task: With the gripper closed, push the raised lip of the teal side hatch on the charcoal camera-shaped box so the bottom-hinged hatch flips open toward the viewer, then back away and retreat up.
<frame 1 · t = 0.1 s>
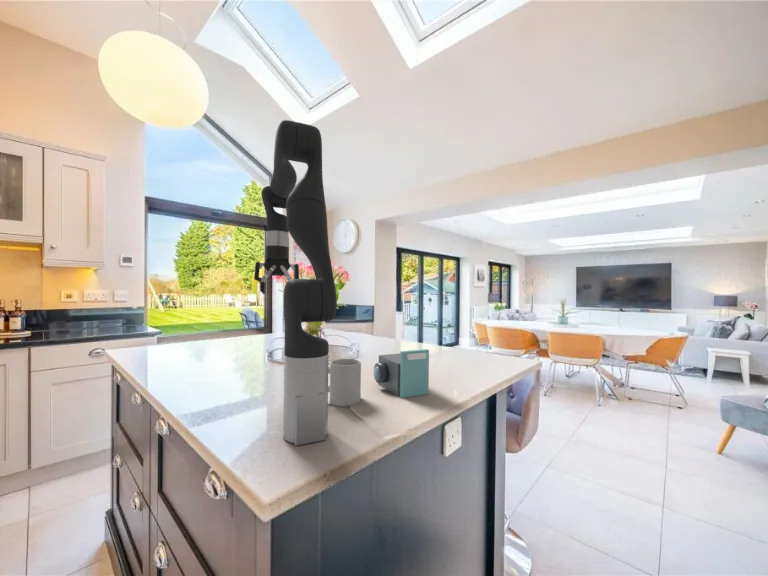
hand: (276, 293, 111), 29 cm above the countertop, fingers open, 8 cm apart
side door: (415, 373, 95), point 7 cm above the countertop, hinge at 0.0°
camera box: (401, 390, 103), on the countertop
mug: (339, 402, 92), on the countertop
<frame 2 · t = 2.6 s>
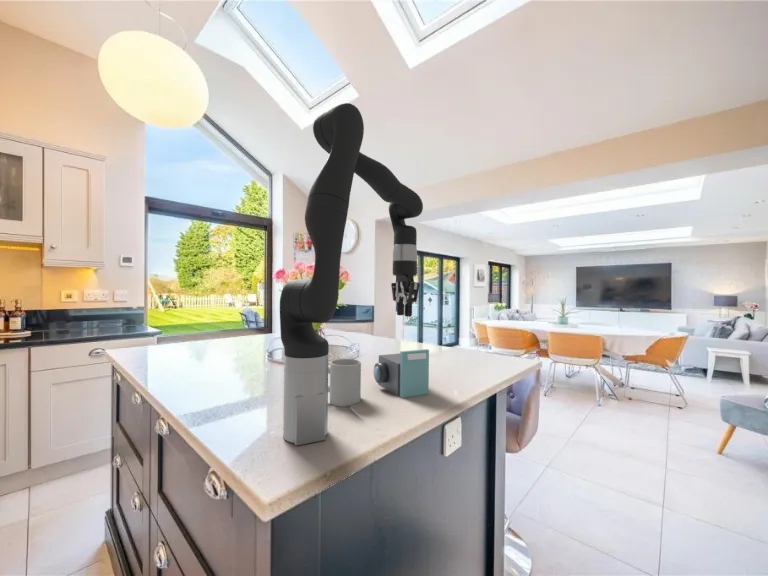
hand: (404, 315, 102), 23 cm above the countertop, fingers open, 4 cm apart
nothing on the countertop moved.
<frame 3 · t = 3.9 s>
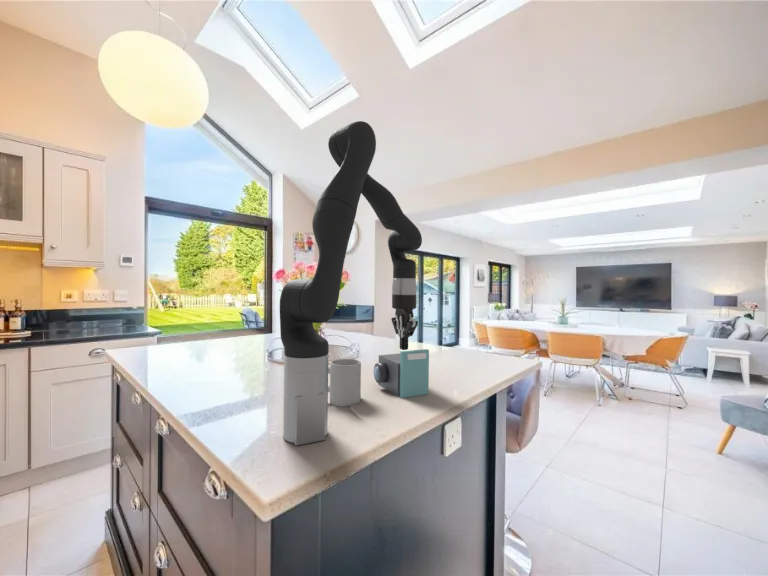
hand: (403, 349, 102), 13 cm above the countertop, fingers closed
nothing on the countertop moved.
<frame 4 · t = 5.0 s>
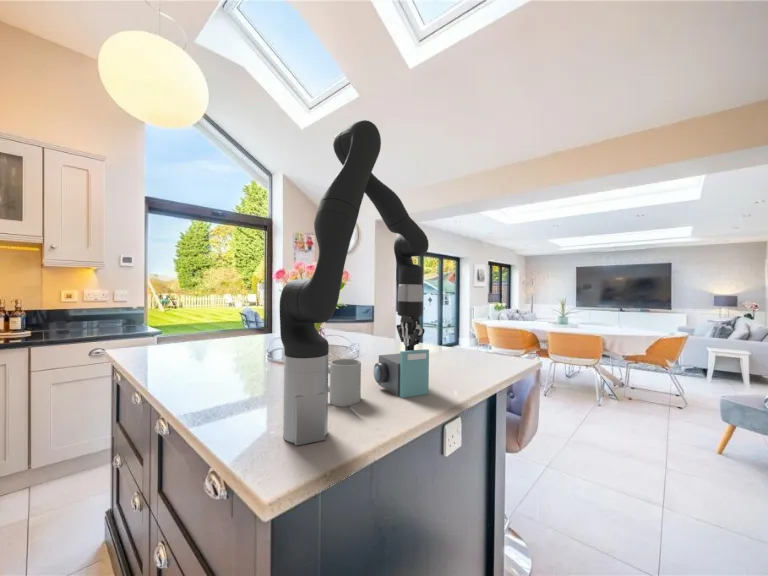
hand: (409, 358, 98), 11 cm above the countertop, fingers closed
side door: (415, 373, 95), point 7 cm above the countertop, hinge at 0.2°, touching gripper
everything else where it was.
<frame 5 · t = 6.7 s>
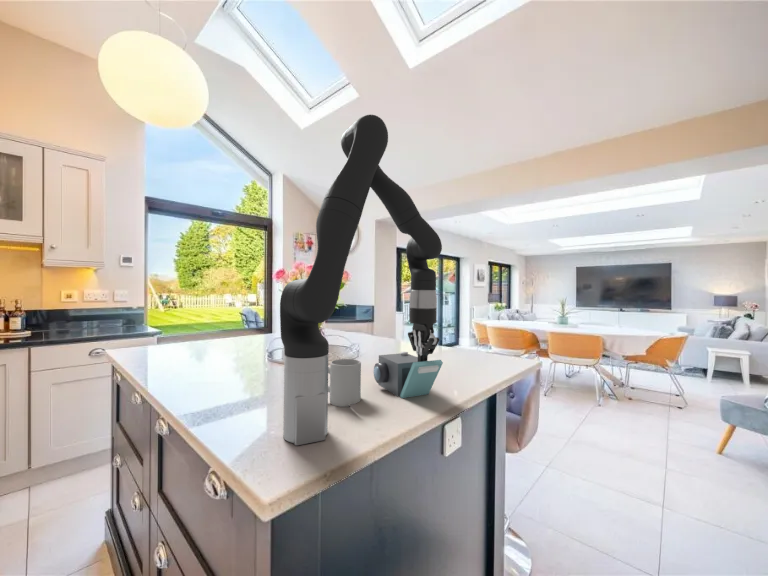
hand: (422, 368, 92), 9 cm above the countertop, fingers closed
side door: (421, 380, 92), point 6 cm above the countertop, hinge at 32.8°, touching gripper
everything else where it was.
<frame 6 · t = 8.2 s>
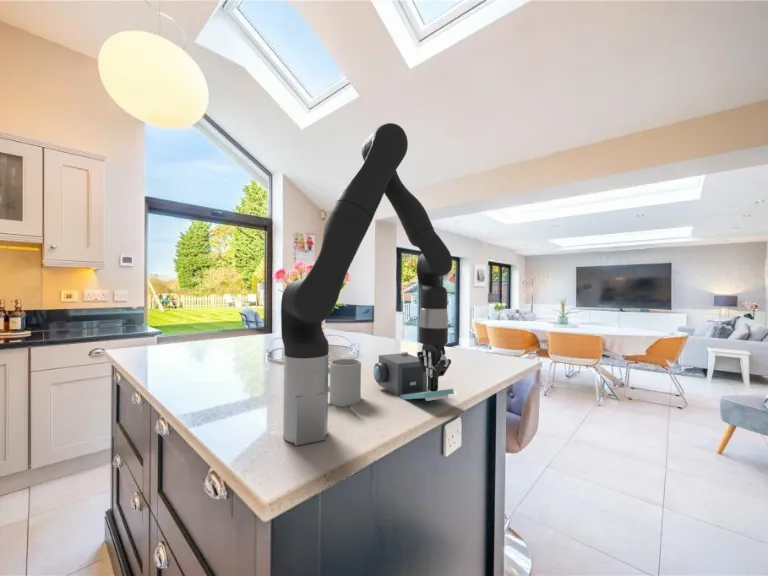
hand: (432, 390, 88), 5 cm above the countertop, fingers closed
side door: (426, 395, 90), point 2 cm above the countertop, hinge at 71.4°, touching gripper
everything else where it was.
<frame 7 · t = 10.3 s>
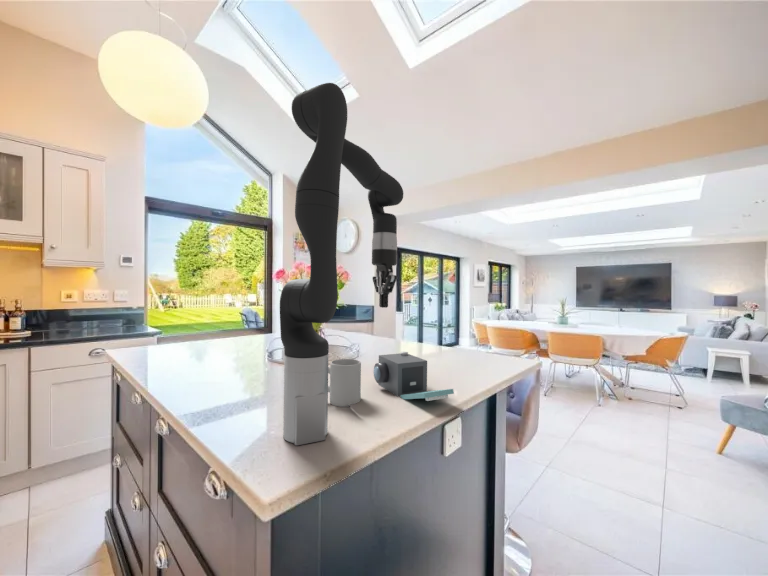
hand: (383, 307, 98), 26 cm above the countertop, fingers closed
side door: (426, 395, 90), point 2 cm above the countertop, hinge at 71.4°
everything else where it was.
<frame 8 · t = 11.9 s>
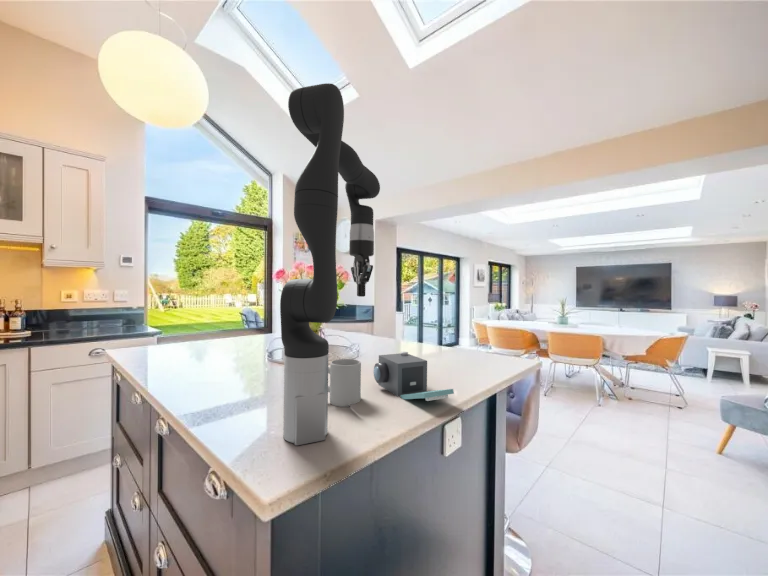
hand: (361, 296, 102), 29 cm above the countertop, fingers closed
nothing on the countertop moved.
at the end: side door at +71° (first picture: +0°) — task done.
